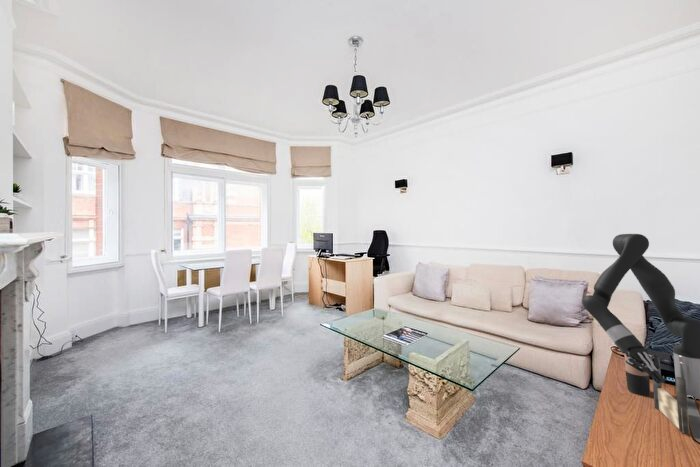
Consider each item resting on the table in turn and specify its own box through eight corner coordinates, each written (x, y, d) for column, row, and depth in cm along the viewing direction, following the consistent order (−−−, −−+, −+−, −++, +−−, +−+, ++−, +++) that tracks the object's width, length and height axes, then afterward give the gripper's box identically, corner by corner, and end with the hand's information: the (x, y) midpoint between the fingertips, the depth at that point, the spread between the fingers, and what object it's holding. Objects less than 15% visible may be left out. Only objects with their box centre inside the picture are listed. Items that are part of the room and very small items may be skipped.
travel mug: (640, 387, 133) (636, 343, 134) (656, 396, 126) (652, 349, 126) (622, 387, 134) (618, 343, 135) (636, 396, 126) (633, 349, 127)
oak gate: (657, 409, 116) (654, 362, 116) (665, 410, 115) (662, 363, 115) (681, 432, 102) (677, 379, 103) (691, 434, 101) (687, 380, 102)
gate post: (658, 406, 119) (654, 356, 119) (665, 409, 116) (661, 359, 117) (653, 407, 118) (649, 357, 119) (660, 410, 116) (656, 359, 116)
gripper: (616, 335, 117) (654, 381, 104) (643, 332, 118) (685, 376, 106) (603, 344, 122) (639, 388, 109) (630, 341, 124) (668, 384, 111)
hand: (661, 382), depth 108 cm, fingers closed
